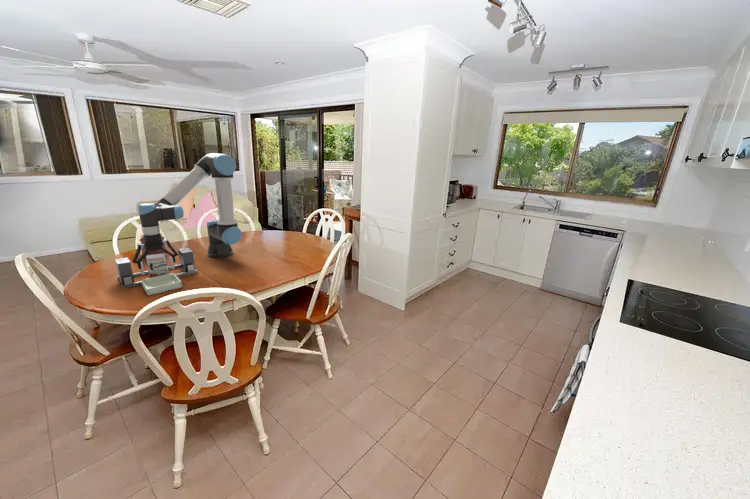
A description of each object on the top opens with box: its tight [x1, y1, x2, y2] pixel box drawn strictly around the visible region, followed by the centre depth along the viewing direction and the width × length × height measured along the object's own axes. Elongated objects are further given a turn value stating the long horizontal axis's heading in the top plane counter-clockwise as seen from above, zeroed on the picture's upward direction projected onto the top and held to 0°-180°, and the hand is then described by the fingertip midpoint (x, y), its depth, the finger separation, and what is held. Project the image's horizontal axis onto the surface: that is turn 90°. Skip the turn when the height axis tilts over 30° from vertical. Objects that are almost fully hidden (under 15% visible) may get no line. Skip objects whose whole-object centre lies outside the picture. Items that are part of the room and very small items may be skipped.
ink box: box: [145, 253, 170, 278], centre depth 167 cm, size 8×5×12 cm, turn 123°
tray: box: [140, 272, 183, 296], centre depth 156 cm, size 15×15×3 cm
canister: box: [138, 232, 168, 260], centre depth 193 cm, size 13×13×18 cm
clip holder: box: [114, 247, 199, 290], centre depth 166 cm, size 34×15×12 cm, turn 135°
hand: (158, 271), depth 167 cm, fingers open, 13 cm apart
